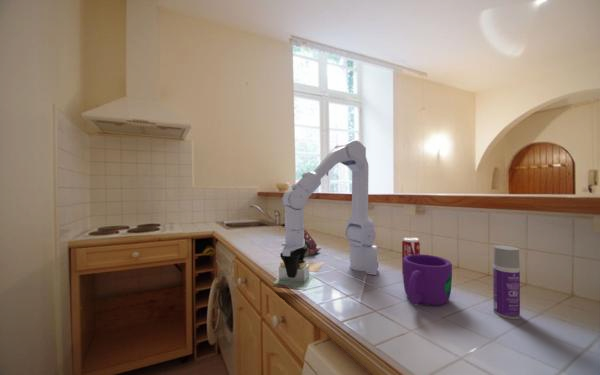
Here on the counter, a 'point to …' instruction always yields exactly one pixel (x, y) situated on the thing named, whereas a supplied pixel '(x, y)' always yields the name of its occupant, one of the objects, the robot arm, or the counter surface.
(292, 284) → the stand
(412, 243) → the soda can
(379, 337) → the counter surface
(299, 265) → the cover
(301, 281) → the base
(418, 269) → the mug
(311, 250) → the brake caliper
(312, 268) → the stand
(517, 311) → the container
